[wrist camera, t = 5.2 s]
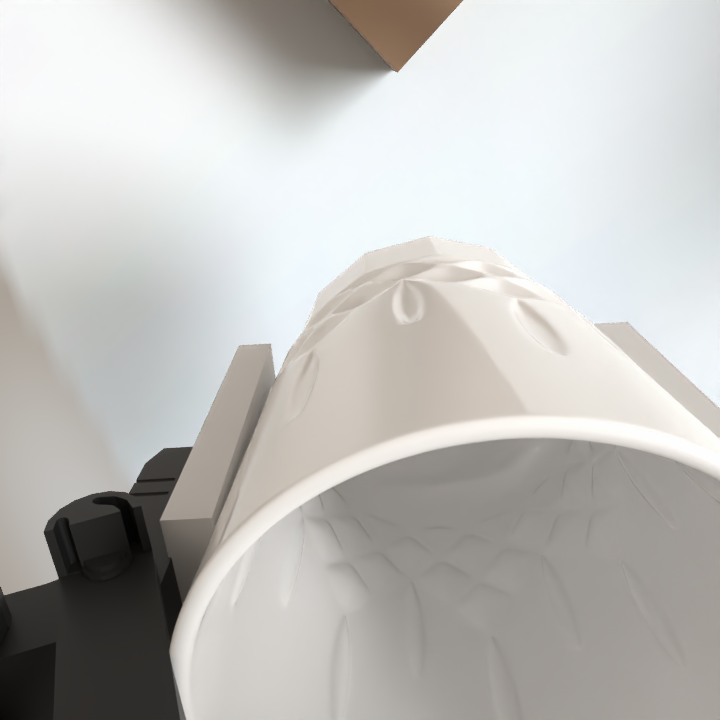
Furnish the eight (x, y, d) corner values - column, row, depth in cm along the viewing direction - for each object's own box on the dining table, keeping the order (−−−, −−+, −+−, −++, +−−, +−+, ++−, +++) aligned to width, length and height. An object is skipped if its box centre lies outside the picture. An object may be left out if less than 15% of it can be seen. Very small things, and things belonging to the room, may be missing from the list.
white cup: (456, 138, 14) (615, 246, 5) (640, 379, 17) (970, 741, 8) (211, 349, 17) (22, 688, 7) (405, 536, 19) (445, 968, 10)
